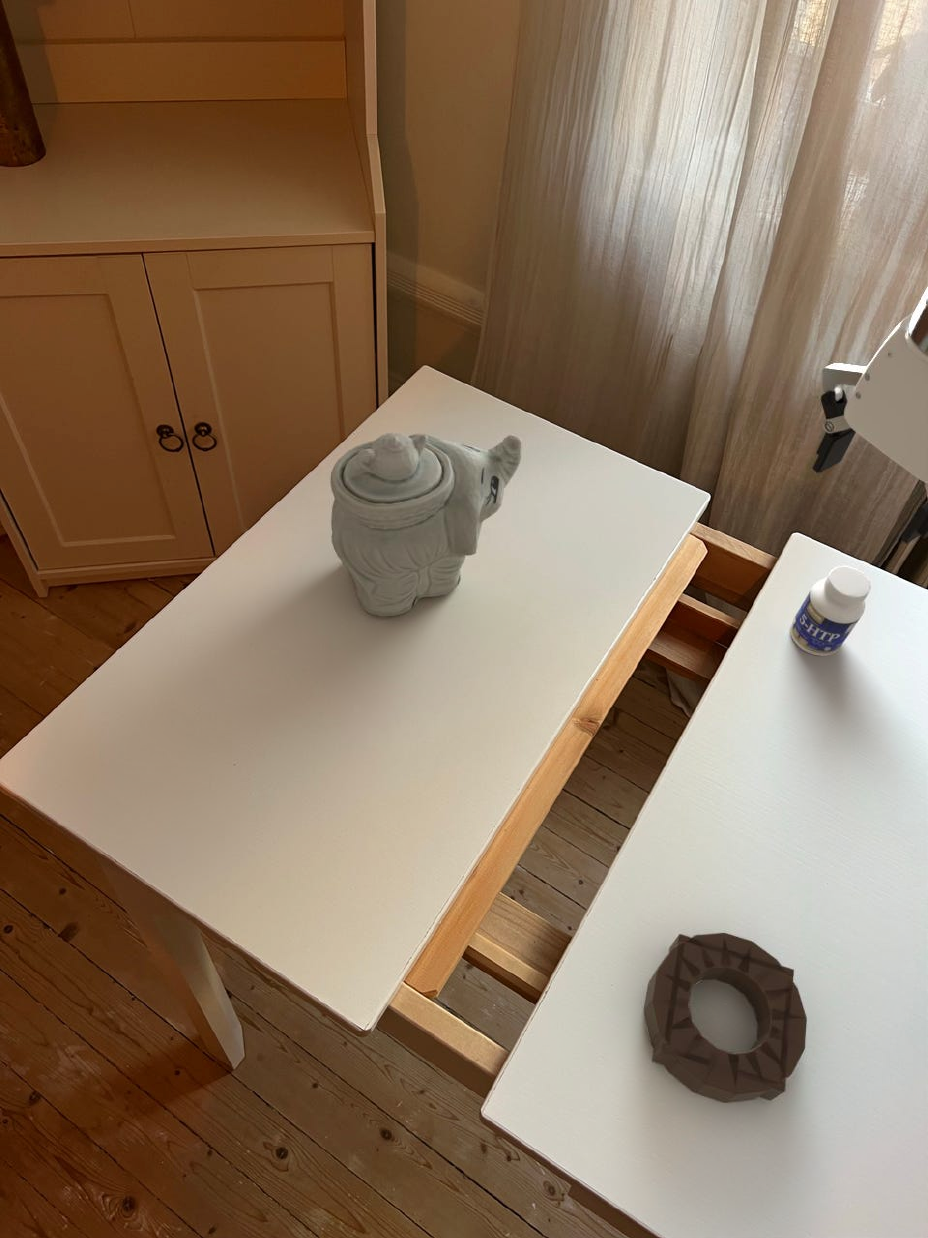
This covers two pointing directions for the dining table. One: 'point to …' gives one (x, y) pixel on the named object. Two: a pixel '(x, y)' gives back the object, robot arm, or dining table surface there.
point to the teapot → (414, 513)
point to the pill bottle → (830, 611)
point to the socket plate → (696, 1055)
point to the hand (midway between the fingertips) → (868, 499)
